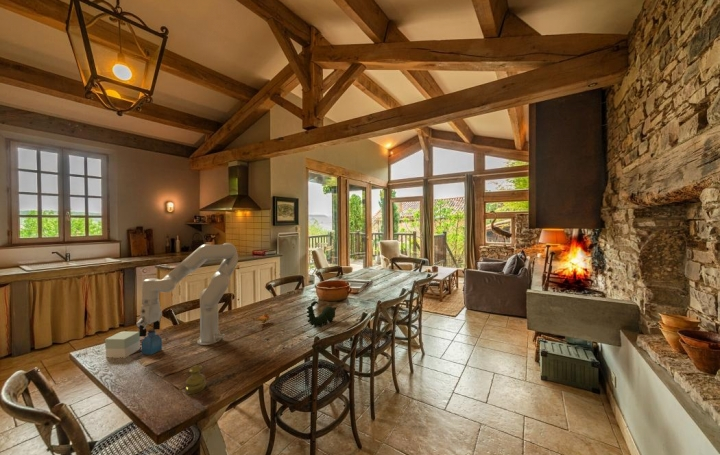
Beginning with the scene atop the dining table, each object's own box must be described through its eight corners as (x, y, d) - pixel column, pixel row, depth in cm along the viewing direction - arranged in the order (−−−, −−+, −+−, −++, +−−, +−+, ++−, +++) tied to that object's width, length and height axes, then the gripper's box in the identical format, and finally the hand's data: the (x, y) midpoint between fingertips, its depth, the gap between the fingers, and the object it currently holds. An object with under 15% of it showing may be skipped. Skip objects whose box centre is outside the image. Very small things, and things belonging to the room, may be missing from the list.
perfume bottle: (151, 354, 149) (150, 332, 148) (141, 353, 150) (141, 331, 149) (161, 349, 155) (161, 328, 154) (152, 348, 156) (152, 327, 156)
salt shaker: (181, 392, 117) (181, 368, 116) (197, 382, 124) (197, 360, 123) (193, 396, 114) (193, 372, 114) (209, 386, 121) (209, 363, 121)
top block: (139, 340, 155) (139, 331, 155) (124, 348, 145) (124, 339, 145) (121, 340, 155) (121, 331, 155) (105, 348, 145) (105, 339, 145)
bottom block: (140, 349, 155) (140, 340, 155) (125, 358, 145) (124, 348, 145) (122, 349, 155) (122, 340, 155) (105, 358, 145) (105, 348, 145)
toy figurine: (314, 333, 182) (341, 320, 200) (312, 305, 180) (340, 294, 198) (305, 329, 188) (332, 316, 207) (303, 302, 187) (331, 292, 205)
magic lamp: (248, 327, 187) (247, 311, 187) (269, 319, 202) (269, 304, 202) (254, 329, 183) (254, 313, 183) (275, 321, 199) (275, 305, 199)
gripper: (145, 306, 143) (144, 339, 143) (168, 297, 160) (167, 327, 160) (130, 305, 143) (129, 338, 143) (155, 297, 160) (154, 326, 160)
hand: (149, 332), depth 152 cm, fingers open, 9 cm apart
